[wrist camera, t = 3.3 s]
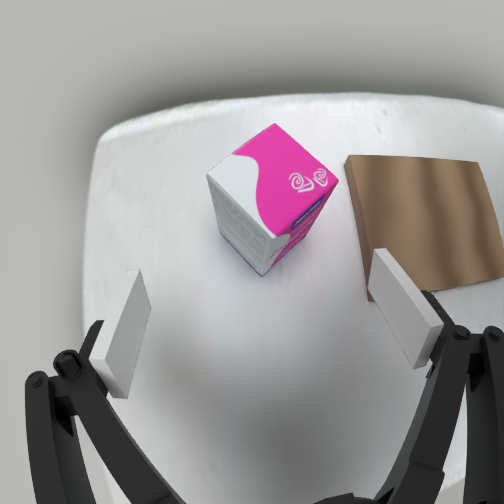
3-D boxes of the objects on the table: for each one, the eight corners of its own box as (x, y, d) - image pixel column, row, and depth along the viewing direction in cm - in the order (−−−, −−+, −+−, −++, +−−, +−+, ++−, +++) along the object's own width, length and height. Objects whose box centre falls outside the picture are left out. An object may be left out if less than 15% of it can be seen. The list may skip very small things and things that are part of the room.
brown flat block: (469, 169, 31) (477, 162, 29) (498, 278, 27) (508, 275, 25) (344, 164, 30) (349, 154, 28) (368, 301, 27) (376, 298, 25)
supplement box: (263, 279, 27) (270, 242, 16) (218, 232, 28) (199, 169, 17) (309, 237, 28) (342, 178, 17) (264, 193, 29) (271, 117, 18)
